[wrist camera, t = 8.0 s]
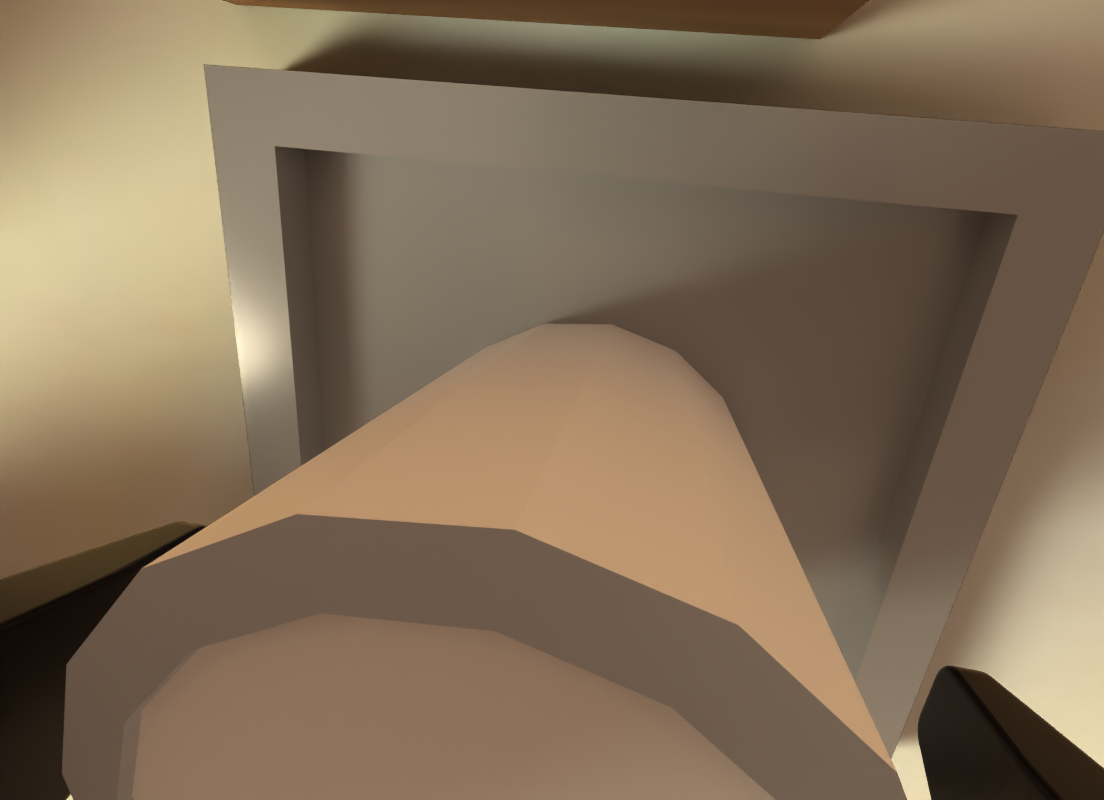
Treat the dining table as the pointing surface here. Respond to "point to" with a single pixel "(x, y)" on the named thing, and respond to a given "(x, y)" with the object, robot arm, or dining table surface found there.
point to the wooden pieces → (619, 13)
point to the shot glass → (487, 612)
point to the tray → (677, 293)
